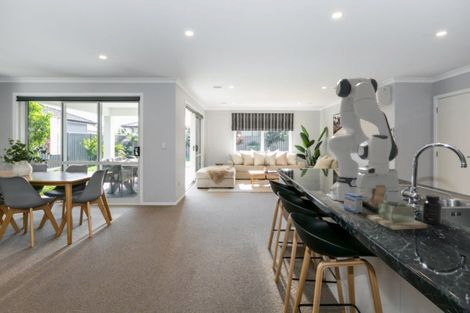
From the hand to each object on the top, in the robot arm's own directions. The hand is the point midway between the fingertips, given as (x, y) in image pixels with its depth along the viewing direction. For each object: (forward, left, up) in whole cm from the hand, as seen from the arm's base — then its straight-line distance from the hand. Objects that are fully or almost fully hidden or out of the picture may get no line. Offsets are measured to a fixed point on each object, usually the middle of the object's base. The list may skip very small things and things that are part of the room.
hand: (376, 197), depth 130 cm
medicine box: (-9, -6, -9) cm, 14 cm away
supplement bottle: (+13, +17, -9) cm, 24 cm away
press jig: (+12, +1, -9) cm, 14 cm away
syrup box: (-7, +14, -9) cm, 18 cm away
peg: (0, 0, -4) cm, 4 cm away
